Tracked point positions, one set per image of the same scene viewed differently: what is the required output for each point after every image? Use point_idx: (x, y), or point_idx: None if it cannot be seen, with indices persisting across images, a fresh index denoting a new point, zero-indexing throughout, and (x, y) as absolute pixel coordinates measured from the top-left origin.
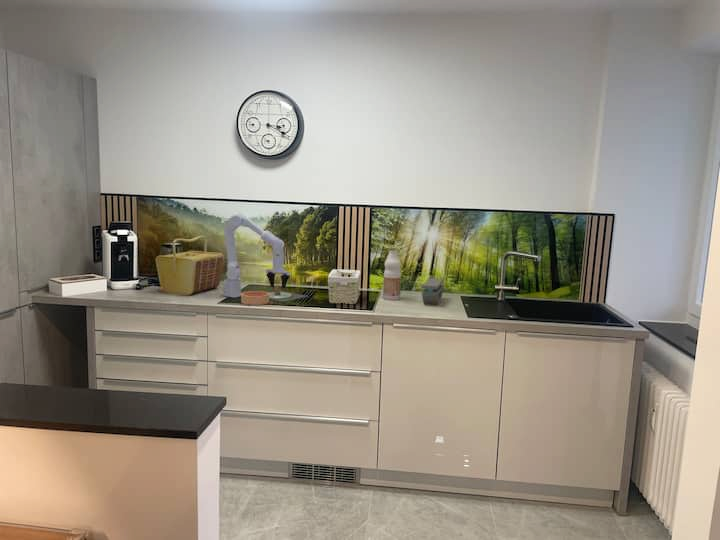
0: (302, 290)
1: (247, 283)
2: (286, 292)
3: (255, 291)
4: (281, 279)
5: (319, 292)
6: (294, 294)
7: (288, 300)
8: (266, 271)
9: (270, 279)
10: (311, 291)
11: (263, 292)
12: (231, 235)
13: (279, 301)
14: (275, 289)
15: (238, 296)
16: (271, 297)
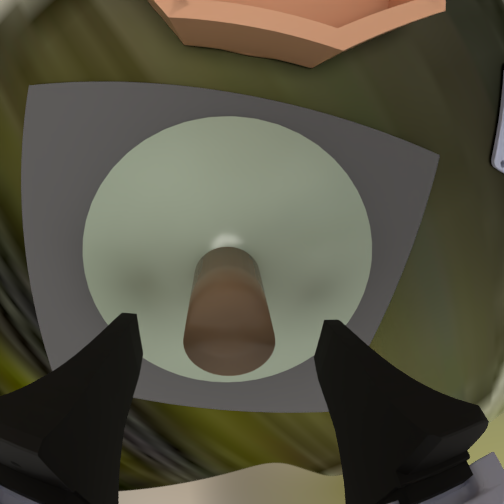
0: (221, 468)
1: (492, 405)
2: (248, 405)
3: (388, 9)
4: (77, 396)
5: (121, 461)
6: (151, 383)
7: (22, 162)
8: (498, 468)
9: (373, 383)
10: (167, 467)
11: (268, 11)
12: None
13: (69, 82)
14: (233, 280)
15: (501, 103)
16: (202, 121)
